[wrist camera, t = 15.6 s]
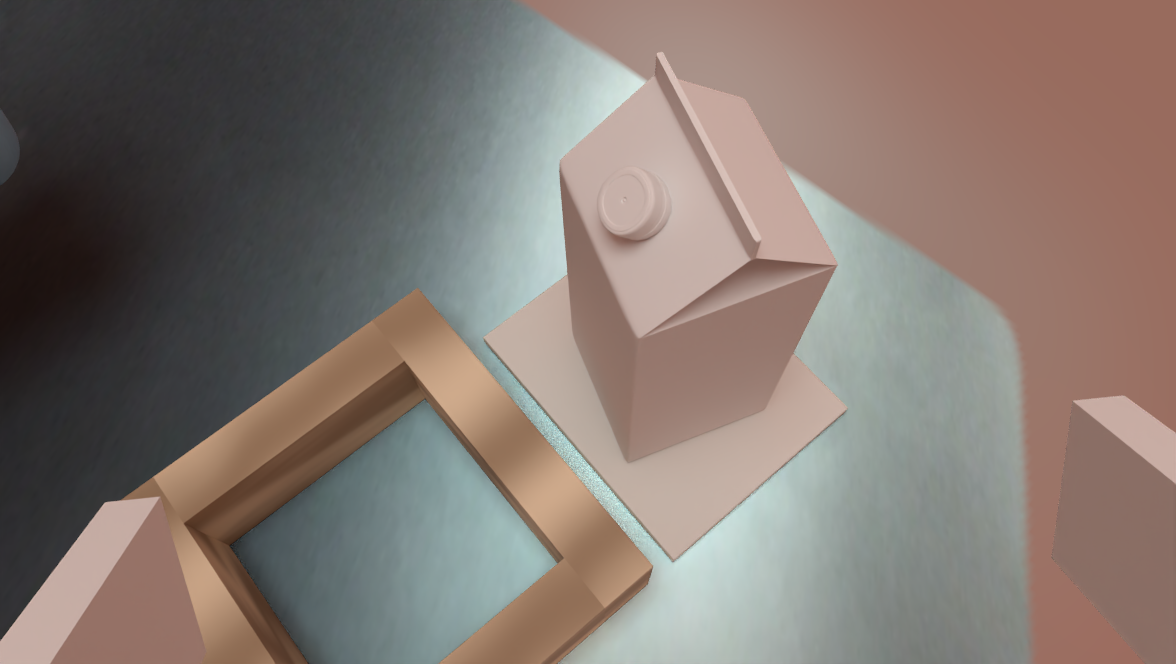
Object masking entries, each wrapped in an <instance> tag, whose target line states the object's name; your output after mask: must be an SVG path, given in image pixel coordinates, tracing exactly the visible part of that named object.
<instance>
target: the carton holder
mask: <svg viewBox="0 0 1176 664" xmlns="http://www.w3.org/2000/svg"><path fill="white" fill-rule="evenodd" d="M424 399H426V400H427V402H428V403H429V404H430V405H431V407H432V408H433V409H434V410H435V411H436V413H437V414H438V415H439V416H440V418H441V419H442V420H443V421H444V423H445V424H446V425H447V426H448V428H449V429H450V430H451V431H452V433H453V434H454V435H455V436H456V438H457V439H458V440H459V441H460V443H461V444H462V445H463V446H464V448H465V449H466V450H467V451H468V452H469V454H470V455H471V456H472V457H473V459H474V460H475V461H476V462H477V464H478V465H479V466H480V467H481V469H482V470H483V471H484V472H485V474H486V475H487V476H488V477H489V479H490V480H491V481H492V482H493V484H494V485H495V486H496V487H497V488H498V490H499V491H500V492H501V493H502V495H503V496H504V497H505V498H506V500H507V501H508V502H509V503H510V505H511V506H512V507H513V508H514V510H515V511H516V512H517V513H518V515H519V516H520V517H521V518H522V520H523V521H524V522H525V523H526V525H527V526H528V527H529V528H530V529H531V531H532V532H533V533H534V534H535V536H536V537H537V538H538V539H539V541H540V542H541V543H542V544H543V546H544V547H545V548H546V549H547V551H548V552H549V553H550V554H551V556H552V557H553V558H554V559H555V561H556V562H557V563H558V564H557V565H555V566H554V567H553V568H552V569H551V570H549V571H548V572H547V573H546V574H545V575H544V576H542V577H541V578H540V579H539V580H538V581H536V582H535V583H534V584H533V585H532V586H530V587H529V588H528V589H527V590H526V591H524V592H523V593H522V594H521V595H520V596H519V597H517V598H516V599H515V600H514V601H513V602H511V603H510V604H509V605H508V606H507V607H505V608H504V609H503V610H502V611H501V612H499V613H498V614H497V615H496V616H495V617H494V618H492V619H491V620H490V621H489V622H488V623H486V624H485V625H484V626H483V627H482V628H480V629H479V630H478V631H477V632H476V633H474V634H473V635H472V636H471V637H470V638H468V639H467V640H466V641H465V642H464V643H463V644H461V645H460V646H459V647H458V648H457V649H455V650H454V651H453V652H452V653H451V654H449V655H448V656H447V657H446V658H445V659H443V660H442V661H441V662H440V663H439V664H557V663H558V662H559V661H560V660H561V659H563V658H564V657H565V656H566V655H567V654H568V653H569V652H571V651H572V650H573V649H574V648H575V647H576V646H577V645H579V644H580V643H581V642H582V641H583V640H584V639H586V638H587V637H588V636H589V635H590V634H591V633H592V632H594V631H595V630H596V629H597V628H598V627H599V626H600V625H602V624H603V623H604V622H605V621H606V620H607V619H608V618H610V617H611V616H612V615H613V614H614V613H615V612H616V611H618V610H619V609H620V608H621V607H622V606H623V605H624V604H626V603H627V602H628V601H629V600H630V599H631V598H632V597H634V596H635V595H636V594H637V593H638V592H639V591H641V590H642V589H643V588H644V587H645V586H646V585H647V584H648V582H649V578H650V575H651V572H652V568H653V565H652V564H651V563H650V562H649V561H648V560H647V558H646V557H645V556H644V555H643V554H642V552H641V551H640V550H639V549H638V548H637V547H636V545H635V544H634V543H633V542H632V541H631V539H630V538H629V537H628V536H627V535H626V534H625V532H624V531H623V530H622V529H621V528H620V526H619V525H618V524H617V523H616V522H615V521H614V519H613V518H612V517H611V516H610V515H609V513H608V512H607V511H606V510H605V509H604V508H603V506H602V505H601V504H600V503H599V502H598V500H597V499H596V498H595V497H594V496H593V494H592V493H591V492H590V491H589V490H588V489H587V487H586V486H585V485H584V484H583V483H582V481H581V480H580V479H579V478H578V477H577V476H576V474H575V473H574V472H573V471H572V470H571V468H570V467H569V466H568V465H567V464H566V463H565V461H564V460H563V459H562V458H561V457H560V455H559V454H558V453H557V452H556V451H555V450H554V448H553V447H552V446H551V445H550V444H549V442H548V441H547V440H546V439H545V438H544V437H543V435H542V434H541V433H540V432H539V431H538V429H537V428H536V427H535V426H534V425H533V423H532V422H531V421H530V420H529V419H528V418H527V416H526V415H525V414H524V413H523V412H522V410H521V409H520V408H519V407H518V406H517V405H516V403H515V402H514V401H513V400H512V399H511V397H510V396H509V395H508V394H507V393H506V392H505V390H504V389H503V388H502V387H501V386H500V384H499V383H498V382H497V381H496V380H495V379H494V377H493V376H492V375H491V374H490V373H489V371H488V370H487V369H486V368H485V367H484V366H483V364H482V363H481V362H480V361H479V360H478V358H477V357H476V356H475V355H474V354H473V353H472V351H471V350H470V349H469V348H468V347H467V345H466V344H465V343H464V342H463V341H462V339H461V338H460V337H459V336H458V335H457V334H456V332H455V331H454V330H453V329H452V328H451V326H450V325H449V324H448V323H447V322H446V321H445V319H444V318H443V317H442V316H441V315H440V313H439V312H438V311H437V310H436V309H435V308H434V306H433V305H432V304H431V303H430V302H429V300H428V299H427V298H426V297H425V296H424V295H423V293H422V292H421V291H420V290H419V289H418V288H417V289H416V290H414V291H413V292H411V293H410V294H409V295H407V296H406V297H404V298H403V299H402V300H400V301H399V302H397V303H396V304H395V305H393V306H392V307H390V308H389V309H388V310H386V311H385V312H383V313H382V314H381V315H379V316H378V317H376V318H375V319H374V320H372V321H371V322H369V323H368V324H367V325H365V326H364V327H362V328H361V329H360V330H358V331H357V332H355V333H354V334H353V335H351V336H350V337H348V338H347V339H346V340H344V341H343V342H341V343H340V344H339V345H337V346H336V347H334V348H333V349H332V350H330V351H329V352H327V353H326V354H325V355H323V356H322V357H320V358H319V359H318V360H316V361H315V362H313V363H312V364H311V365H309V366H308V367H306V368H305V369H304V370H302V371H301V372H299V373H298V374H297V375H295V376H294V377H292V378H291V379H290V380H288V381H287V382H285V383H284V384H283V385H281V386H280V387H278V388H277V389H276V390H274V391H273V392H271V393H270V394H269V395H267V396H266V397H264V398H263V399H262V400H260V401H259V402H258V403H256V404H255V405H253V406H252V407H251V408H249V409H248V410H246V411H245V412H244V413H242V414H241V415H239V416H238V417H237V418H235V419H234V420H232V421H231V422H230V423H228V424H227V425H225V426H224V427H223V428H221V429H220V430H218V431H217V432H216V433H214V434H213V435H211V436H210V437H209V438H207V439H206V440H204V441H203V442H202V443H200V444H199V445H197V446H196V447H195V448H193V449H192V450H190V451H189V452H188V453H186V454H185V455H183V456H182V457H181V458H179V459H178V460H176V461H175V462H174V463H172V464H171V465H169V466H168V467H167V468H165V469H164V470H162V471H161V472H160V473H158V474H157V475H155V476H154V477H153V478H151V479H150V480H148V481H147V482H146V483H144V484H143V485H141V486H140V487H139V488H137V489H136V490H134V491H133V492H132V493H130V494H129V495H127V496H126V497H125V498H123V499H122V500H120V501H123V500H132V499H142V498H151V497H160V498H161V501H162V504H163V508H164V511H165V514H166V518H167V521H168V524H169V528H170V531H171V534H172V538H173V541H174V544H175V548H176V551H177V554H178V558H179V561H180V565H181V568H182V571H183V575H184V578H185V581H186V585H187V588H188V591H189V595H190V598H191V601H192V605H193V608H194V611H195V615H196V618H197V621H198V625H199V628H200V632H201V635H202V638H203V642H204V645H205V648H206V654H205V656H204V658H203V661H202V663H201V664H308V663H307V661H306V660H305V658H304V657H303V655H302V654H301V652H300V651H299V649H298V648H297V646H296V645H295V643H294V642H293V640H292V639H291V637H290V636H289V634H288V633H287V631H286V630H285V628H284V627H283V625H282V624H281V622H280V621H279V619H278V618H277V616H276V615H275V613H274V612H273V610H272V609H271V607H270V606H269V604H268V603H267V601H266V600H265V598H264V597H263V595H262V594H261V592H260V591H259V589H258V588H257V586H256V585H255V583H254V582H253V580H252V579H251V577H250V576H249V574H248V573H247V571H246V570H245V568H244V567H243V565H242V564H241V562H240V561H239V559H238V558H237V556H236V555H235V553H234V552H233V550H232V549H231V547H230V546H229V545H231V544H232V543H233V542H235V541H236V540H237V539H239V538H240V537H241V536H243V535H244V534H245V533H247V532H248V531H249V530H251V529H252V528H253V527H255V526H256V525H257V524H259V523H260V522H261V521H263V520H264V519H265V518H267V517H268V516H269V515H271V514H272V513H273V512H275V511H276V510H277V509H279V508H280V507H281V506H283V505H284V504H285V503H287V502H288V501H289V500H291V499H292V498H293V497H295V496H296V495H297V494H299V493H300V492H301V491H303V490H304V489H305V488H307V487H308V486H309V485H311V484H312V483H313V482H315V481H316V480H317V479H319V478H320V477H321V476H323V475H324V474H325V473H327V472H328V471H329V470H331V469H332V468H333V467H335V466H336V465H337V464H339V463H340V462H341V461H343V460H344V459H345V458H347V457H348V456H349V455H351V454H352V453H353V452H355V451H356V450H357V449H358V448H360V447H361V446H362V445H364V444H365V443H366V442H368V441H369V440H370V439H372V438H373V437H374V436H376V435H377V434H378V433H380V432H381V431H382V430H384V429H385V428H386V427H388V426H389V425H390V424H392V423H393V422H394V421H396V420H397V419H398V418H400V417H401V416H402V415H404V414H405V413H406V412H408V411H409V410H410V409H412V408H413V407H414V406H416V405H417V404H418V403H420V402H421V401H422V400H424Z"/></svg>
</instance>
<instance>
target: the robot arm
mask: <svg viewBox="0 0 1176 664" xmlns="http://www.w3.org/2000/svg"><path fill="white" fill-rule="evenodd" d="M19 156H20V146H19V141H18V138H17V135H16V133H15V131H14V129H13V127H12V126H11V124H10V122H9V121H8V119H7V118H6V116H5V115H4V113H3V112H2V110H1V109H0V185H2V184H3V183H4V182H6V181H7V180H8V179H9V177H10V176H11V175H12V174H13V172H14V170H15V168H16V166H17V164H18V161H19ZM1052 559H1053V560H1054V561H1055V563H1056V564H1057V565H1058V566H1059V567H1060V568H1061V569H1062V570H1063V572H1064V573H1065V574H1066V575H1067V576H1068V577H1069V578H1070V579H1071V581H1073V583H1074V584H1075V585H1076V586H1077V587H1078V589H1079V590H1080V591H1081V592H1082V593H1083V594H1084V595H1085V596H1086V598H1087V599H1088V600H1089V601H1090V602H1091V603H1092V604H1093V605H1094V607H1095V608H1096V609H1097V610H1098V611H1099V612H1100V613H1101V615H1102V616H1103V617H1104V618H1105V619H1106V620H1107V621H1108V622H1109V623H1110V625H1111V626H1112V627H1113V628H1114V629H1115V630H1116V631H1117V633H1118V634H1119V635H1120V636H1121V637H1122V638H1123V639H1124V641H1125V642H1126V643H1127V644H1128V645H1129V646H1130V647H1131V648H1132V650H1133V651H1134V652H1135V653H1136V654H1137V655H1138V656H1139V657H1140V659H1141V660H1142V661H1143V662H1144V663H1145V664H1176V433H1175V432H1173V431H1172V430H1171V429H1169V428H1168V427H1166V426H1165V425H1164V424H1162V423H1161V422H1160V421H1158V420H1157V419H1156V418H1154V417H1153V416H1151V415H1150V414H1149V413H1147V412H1146V411H1144V410H1143V409H1142V408H1140V407H1139V406H1138V405H1136V404H1135V403H1134V402H1132V401H1131V400H1129V399H1128V398H1127V397H1125V396H1114V397H1105V398H1095V399H1085V400H1076V401H1072V410H1071V416H1070V425H1069V432H1068V439H1067V447H1066V455H1065V462H1064V468H1063V476H1062V483H1061V491H1060V498H1059V506H1058V514H1057V521H1056V529H1055V536H1054V544H1053V551H1052ZM205 654H206V648H205V645H204V642H203V638H202V635H201V632H200V628H199V625H198V621H197V618H196V615H195V611H194V608H193V605H192V601H191V598H190V595H189V591H188V588H187V585H186V581H185V578H184V575H183V571H182V568H181V565H180V561H179V558H178V554H177V551H176V548H175V544H174V541H173V538H172V534H171V531H170V528H169V524H168V521H167V518H166V514H165V511H164V508H163V504H162V501H161V498H160V497H151V498H142V499H132V500H123V501H113V502H105V503H104V504H103V506H102V507H101V508H100V510H99V511H98V512H97V514H96V515H95V516H94V518H93V519H92V520H91V522H90V523H89V524H88V526H87V527H86V528H85V530H84V531H83V532H82V534H81V535H80V536H79V538H78V539H77V540H76V542H75V543H74V544H73V546H72V547H71V548H70V549H69V551H68V552H67V553H66V555H65V556H64V557H63V559H62V560H61V561H60V563H59V564H58V565H57V567H56V568H55V569H54V571H53V572H52V573H51V575H50V576H49V577H48V579H47V580H46V581H45V583H44V584H43V585H42V587H41V588H40V589H39V591H38V592H37V593H36V595H35V596H34V597H33V599H32V600H31V601H30V603H29V604H28V605H27V607H26V608H25V609H24V611H23V612H22V613H21V615H20V616H19V617H18V619H17V620H16V621H15V622H14V624H13V625H12V626H11V628H10V629H9V630H8V632H7V633H6V634H5V636H4V637H3V638H2V640H1V641H0V664H201V663H202V661H203V658H204V656H205Z"/></svg>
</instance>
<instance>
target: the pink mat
mask: <svg viewBox="0 0 1176 664" xmlns="http://www.w3.org/2000/svg"><path fill="white" fill-rule="evenodd" d="M483 339H484V342H485V343H486V344H487V345H488V347H489V348H490V349H491V350H492V351H493V352H494V354H495V355H496V356H497V357H498V358H499V360H500V361H501V362H502V363H503V364H504V365H505V367H506V368H507V369H508V370H509V371H510V372H511V374H512V375H513V376H514V377H515V378H516V379H517V381H518V382H519V383H520V384H521V385H522V386H523V388H524V389H525V390H526V391H527V392H528V393H529V395H530V396H531V397H532V398H533V399H534V400H535V402H536V403H537V404H538V405H539V406H540V407H541V409H542V410H543V411H544V412H545V413H546V414H547V416H548V417H549V418H550V419H551V420H552V421H553V423H554V424H555V425H556V426H557V427H558V429H559V430H560V431H561V432H562V433H563V434H564V436H565V437H566V438H567V439H568V440H569V441H570V443H571V444H572V445H573V446H574V447H575V448H576V450H577V451H578V452H579V453H580V454H581V455H582V457H583V458H584V459H585V460H586V461H587V462H588V464H589V465H590V466H591V467H592V468H593V469H594V471H595V472H596V473H597V474H598V475H599V476H600V478H601V479H602V480H603V481H604V482H605V483H606V485H607V486H608V487H609V488H610V489H611V490H612V492H613V493H614V494H615V495H616V496H617V498H618V499H619V500H620V501H621V502H622V503H623V505H624V506H625V507H626V508H627V509H628V510H629V512H630V513H631V514H632V515H633V516H634V517H635V519H636V520H637V521H638V522H639V523H640V524H641V526H642V527H643V528H644V529H645V530H646V531H647V533H648V534H649V535H650V536H651V537H652V538H653V540H654V541H655V542H656V543H657V544H658V545H659V547H660V548H661V549H662V550H663V551H664V552H665V554H666V555H667V556H668V557H669V558H670V559H671V561H672V562H674V561H675V560H676V559H677V558H678V557H679V556H681V555H682V554H683V553H684V552H685V551H686V550H687V549H689V548H690V547H691V546H692V545H693V544H694V543H696V542H697V541H698V540H699V539H700V538H701V537H702V536H704V535H705V534H706V533H707V532H708V531H709V530H710V529H712V528H713V527H714V526H715V525H716V524H717V523H718V522H720V521H721V520H722V519H723V518H724V517H725V516H726V515H728V514H729V513H730V512H731V511H732V510H733V509H734V508H736V507H737V506H738V505H739V504H740V503H741V502H742V501H744V500H745V499H746V498H747V497H748V496H749V495H751V494H752V493H753V492H754V491H755V490H756V489H757V488H759V487H760V486H761V485H762V484H763V483H764V482H765V481H767V480H768V479H769V478H770V477H771V476H772V475H773V474H775V473H776V472H777V471H778V470H779V469H780V468H781V467H783V466H784V465H785V464H786V463H787V462H788V461H789V460H791V459H792V458H793V457H794V456H795V455H796V454H797V453H799V452H800V451H801V450H802V449H803V448H804V447H806V446H807V445H808V444H809V443H810V442H811V441H812V440H814V439H815V438H816V437H817V436H818V435H819V434H820V433H822V432H823V431H824V430H825V429H826V428H827V427H828V426H830V425H831V424H832V423H833V422H834V421H835V420H836V419H838V418H839V417H840V416H841V415H842V414H843V413H844V412H845V411H846V410H847V409H848V408H847V407H846V406H845V405H844V404H843V403H842V401H841V400H840V399H839V398H838V397H837V396H836V395H835V394H834V393H833V392H832V391H831V390H830V389H829V388H828V387H827V386H826V385H825V384H824V383H823V382H822V381H821V380H820V379H819V378H818V377H817V376H816V375H815V374H814V373H813V372H812V371H811V370H810V369H809V368H808V367H807V366H806V365H805V364H804V363H803V362H802V361H801V360H800V359H799V358H798V357H797V356H796V355H795V354H794V353H793V354H792V356H791V358H790V360H789V362H788V364H787V366H786V368H785V370H784V372H783V374H782V376H781V378H780V380H779V382H778V384H777V386H776V388H775V390H774V392H773V394H772V396H771V398H770V400H769V402H768V404H767V406H766V408H765V409H764V410H762V411H759V412H757V413H754V414H752V415H749V416H747V417H744V418H741V419H739V420H736V421H734V422H731V423H729V424H726V425H723V426H721V427H718V428H716V429H713V430H711V431H708V432H705V433H703V434H700V435H698V436H695V437H693V438H690V439H687V440H685V441H682V442H680V443H677V444H675V445H672V446H669V447H667V448H664V449H662V450H659V451H656V452H654V453H651V454H649V455H646V456H644V457H641V458H638V459H636V460H633V461H631V462H627V461H626V460H625V458H624V456H623V454H622V452H621V449H620V447H619V445H618V442H617V440H616V438H615V435H614V433H613V430H612V428H611V426H610V423H609V421H608V418H607V416H606V414H605V411H604V409H603V407H602V404H601V402H600V399H599V397H598V395H597V392H596V390H595V387H594V385H593V383H592V380H591V378H590V375H589V373H588V371H587V368H586V366H585V364H584V361H583V359H582V356H581V354H580V352H579V349H578V347H577V344H576V342H575V339H574V336H573V332H572V321H571V309H570V297H569V284H568V274H567V275H566V276H565V277H563V278H562V279H561V280H559V281H558V282H557V283H555V284H554V285H553V286H551V287H550V288H548V289H547V290H546V291H544V292H543V293H542V294H540V295H539V296H538V297H536V298H535V299H534V300H532V301H531V302H530V303H528V304H527V305H526V306H524V307H523V308H522V309H520V310H519V311H518V312H516V313H515V314H514V315H512V316H511V317H510V318H508V319H507V320H506V321H504V322H503V323H502V324H500V325H499V326H498V327H496V328H495V329H494V330H492V331H491V332H490V333H488V334H487V335H486V336H484V337H483Z"/></svg>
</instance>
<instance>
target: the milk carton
mask: <svg viewBox="0 0 1176 664" xmlns="http://www.w3.org/2000/svg"><path fill="white" fill-rule="evenodd" d="M559 172H560V187H561V199H562V211H563V224H564V236H565V248H566V260H567V272H568V284H569V297H570V309H571V321H572V332H573V336H574V339H575V342H576V344H577V347H578V349H579V352H580V354H581V356H582V359H583V361H584V364H585V366H586V368H587V371H588V373H589V375H590V378H591V380H592V383H593V385H594V387H595V390H596V392H597V395H598V397H599V399H600V402H601V404H602V407H603V409H604V411H605V414H606V416H607V418H608V421H609V423H610V426H611V428H612V430H613V433H614V435H615V438H616V440H617V442H618V445H619V447H620V449H621V452H622V454H623V456H624V458H625V460H626V461H627V462H631V461H633V460H636V459H638V458H641V457H644V456H646V455H649V454H651V453H654V452H656V451H659V450H662V449H664V448H667V447H669V446H672V445H675V444H677V443H680V442H682V441H685V440H687V439H690V438H693V437H695V436H698V435H700V434H703V433H705V432H708V431H711V430H713V429H716V428H718V427H721V426H723V425H726V424H729V423H731V422H734V421H736V420H739V419H741V418H744V417H747V416H749V415H752V414H754V413H757V412H759V411H762V410H764V409H765V408H766V406H767V404H768V402H769V400H770V398H771V396H772V394H773V392H774V390H775V388H776V386H777V384H778V382H779V380H780V378H781V376H782V374H783V372H784V370H785V368H786V366H787V364H788V362H789V360H790V358H791V356H792V354H793V352H794V350H795V348H796V346H797V344H798V342H799V340H800V338H801V336H802V334H803V332H804V330H805V328H806V326H807V324H808V322H809V320H810V318H811V316H812V314H813V312H814V310H815V308H816V306H817V304H818V302H819V300H820V299H821V297H822V295H823V293H824V291H825V289H826V287H827V285H828V283H829V281H830V279H831V277H832V275H833V273H834V271H835V269H836V267H837V266H838V264H837V262H836V260H835V258H834V256H833V254H832V252H831V250H830V249H829V247H828V245H827V243H826V241H825V240H824V238H823V236H822V234H821V233H820V231H819V229H818V227H817V225H816V224H815V222H814V220H813V218H812V217H811V215H810V213H809V211H808V209H807V208H806V206H805V204H804V202H803V201H802V199H801V197H800V195H799V193H798V192H797V190H796V188H795V186H794V185H793V183H792V181H791V179H790V177H789V176H788V174H787V172H786V170H785V169H784V167H783V165H782V163H781V161H780V160H779V158H778V156H777V154H776V153H775V151H774V149H773V147H772V145H771V144H770V142H769V140H768V138H767V137H766V135H765V133H764V131H763V130H762V128H761V126H760V124H759V122H758V121H757V119H756V117H755V115H754V113H753V112H752V110H751V108H750V107H749V105H748V103H747V102H746V100H745V99H744V98H741V97H738V96H735V95H731V94H728V93H724V92H721V91H717V90H714V89H710V88H707V87H703V86H700V85H697V84H693V83H689V82H686V81H683V80H679V79H677V78H676V76H675V74H674V72H673V71H672V69H671V67H670V65H669V63H668V61H667V59H666V58H665V56H664V54H663V52H660V53H657V55H656V69H655V75H654V76H653V77H652V78H651V79H650V80H649V81H648V82H646V83H645V84H644V85H643V86H642V87H641V88H640V89H639V90H637V91H636V92H635V93H634V94H633V95H632V96H631V97H630V98H629V99H627V100H626V101H625V102H624V103H623V104H622V105H621V106H620V107H618V108H617V109H616V110H615V111H614V112H613V113H612V114H611V115H610V116H608V117H607V118H606V119H605V120H604V121H603V122H602V123H601V124H599V125H598V126H597V127H596V128H595V129H594V130H593V131H592V132H591V133H589V134H588V135H587V136H586V137H585V138H584V139H583V140H582V141H581V142H579V143H578V144H577V145H576V146H575V147H574V148H573V149H572V150H570V151H569V152H568V153H567V154H566V155H565V156H564V157H563V158H562V159H561V160H560V171H559Z"/></svg>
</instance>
